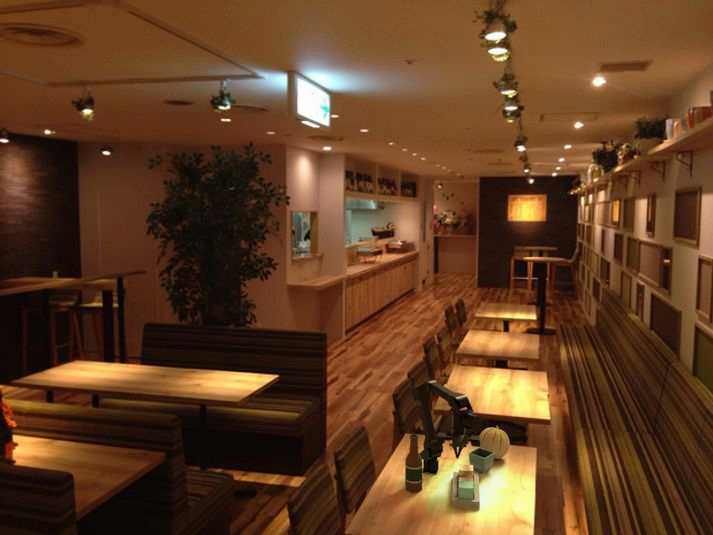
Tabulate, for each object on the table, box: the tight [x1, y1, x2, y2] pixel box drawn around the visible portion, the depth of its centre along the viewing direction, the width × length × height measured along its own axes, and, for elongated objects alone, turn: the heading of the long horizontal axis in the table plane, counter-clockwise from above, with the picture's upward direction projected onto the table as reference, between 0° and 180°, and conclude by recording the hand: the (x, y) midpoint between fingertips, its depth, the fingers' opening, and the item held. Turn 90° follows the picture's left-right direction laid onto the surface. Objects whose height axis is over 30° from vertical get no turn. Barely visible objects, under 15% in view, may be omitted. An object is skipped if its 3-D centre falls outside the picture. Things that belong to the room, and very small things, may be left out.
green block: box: [457, 480, 474, 500], centre depth 258 cm, size 6×6×5 cm
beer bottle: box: [404, 433, 423, 494], centre depth 269 cm, size 8×8×24 cm
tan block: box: [458, 477, 474, 482], centre depth 267 cm, size 6×6×5 cm
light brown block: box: [458, 463, 474, 478], centre depth 274 cm, size 6×6×5 cm
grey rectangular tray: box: [451, 471, 481, 510], centre depth 267 cm, size 11×26×3 cm, turn 170°
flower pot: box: [468, 447, 495, 475], centre depth 287 cm, size 9×9×9 cm
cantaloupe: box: [478, 425, 511, 460], centre depth 301 cm, size 15×15×15 cm
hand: (457, 458), depth 273 cm, fingers closed
